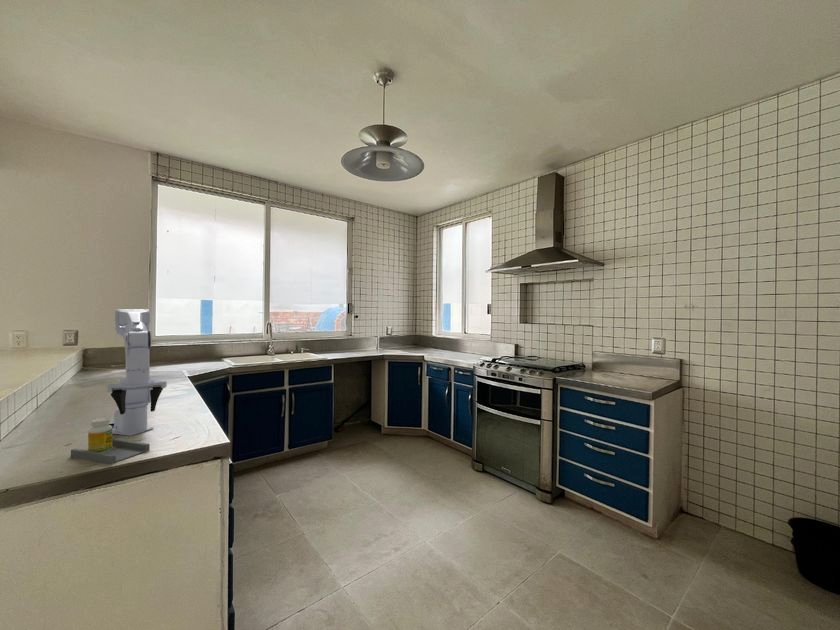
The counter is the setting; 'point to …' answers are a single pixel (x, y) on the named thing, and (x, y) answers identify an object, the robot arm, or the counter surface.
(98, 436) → the supplement bottle
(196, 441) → the counter surface
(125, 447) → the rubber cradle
